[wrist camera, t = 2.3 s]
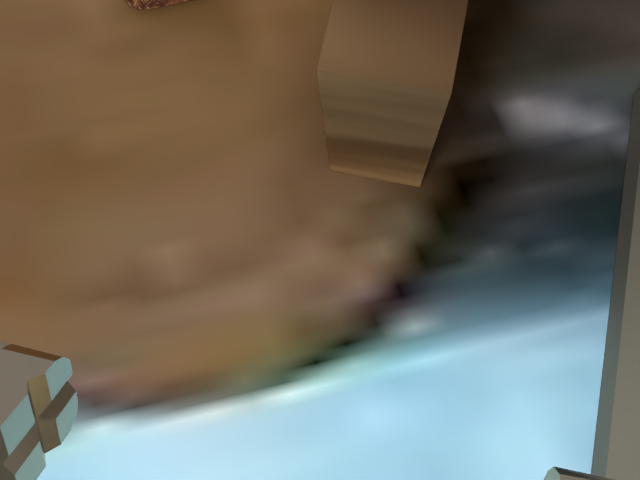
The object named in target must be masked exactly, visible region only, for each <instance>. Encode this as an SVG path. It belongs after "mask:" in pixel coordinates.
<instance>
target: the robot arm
mask: <svg viewBox="0 0 640 480" xmlns="http://www.w3.org/2000/svg"><path fill="white" fill-rule="evenodd" d="M72 374H73V372H72V367H71V363H70V359H67V358H64V357H61V356H57V355H53V354H49V353H45V352H41V351H37V350H33V349H29V348H25V347H21V346H17V345H13V344H9V343H5V342H0V480H36V479H37V478H38V477H39V475H40V474H41V472H42V471H43V469H44V468H45V467H46V462H45V453H46V452H48V451H50V450H52V449H53V448H55V447H57V446H59V445H61V444H62V442H63V441H64V439H65V438H66V436H67V435H68V433H69V432H70V430H71V427H72V425H73V422H74V419H75V417H76V414H77V405H78V399H77V393H76V391H75V389H74V388H73V387H72V386H71V385H70V384H69V383H68V381H67V380H68V379H69V378H70V376H71V375H72ZM544 480H615V479H610V478H605V477H600V476H596V475H591V474H586V473H582V472H577V471H572V470H567V469H563V468H558V467H552V468H551V469H550V470H548V472H547V474H546V476H545V478H544Z"/></svg>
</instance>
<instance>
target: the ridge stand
mask: <svg viewBox="0 0 640 480" xmlns="http://www.w3.org/2000/svg"><path fill="white" fill-rule="evenodd" d="M591 475H596V476H600V477H605V478H610V479H615V480H640V89H639V90H638V91H637V92H636V93H635V94H634V97H633V106H632V115H631V124H630V133H629V141H628V150H627V159H626V168H625V177H624V186H623V195H622V204H621V212H620V221H619V230H618V239H617V248H616V257H615V266H614V275H613V283H612V292H611V301H610V310H609V319H608V328H607V337H606V346H605V354H604V363H603V372H602V381H601V390H600V399H599V408H598V417H597V425H596V434H595V443H594V452H593V461H592V470H591Z"/></svg>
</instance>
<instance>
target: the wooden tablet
mask: <svg viewBox="0 0 640 480" xmlns="http://www.w3.org/2000/svg"><path fill="white" fill-rule="evenodd" d="M125 1H126V3H127V4H128V5H130V6H132V7H133V8H135V9H137V10H148V9H151V8H159V7H163V6H169V5H174V4H178V3H182V2H187V1H191V0H125Z"/></svg>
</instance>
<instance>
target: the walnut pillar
mask: <svg viewBox="0 0 640 480" xmlns="http://www.w3.org/2000/svg"><path fill="white" fill-rule="evenodd" d="M467 4H468V0H333V2H332V6H331V10H330V15H329V19H328V23H327V28H326V32H325V36H324V41H323V45H322V49H321V54H320V58H319V62H318V67H317V77H318V84H319V92H320V99H321V106H322V113H323V121H324V128H325V135H326V142H327V149H328V157H329V164H330V171H333V172H338V173H344V174H349V175H355V176H360V177H366V178H371V179H377V180H382V181H388V182H393V183H399V184H404V185H410V186H415V187H420V185H421V182H422V179H423V176H424V173H425V170H426V167H427V164H428V161H429V158H430V155H431V153H432V150H433V147H434V144H435V141H436V138H437V135H438V132H439V129H440V126H441V123H442V120H443V117H444V114H445V111H446V108H447V105H448V102H449V99H450V96H451V93H452V88H453V82H454V77H455V71H456V66H457V60H458V54H459V49H460V43H461V38H462V32H463V27H464V21H465V16H466V10H467Z"/></svg>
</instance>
